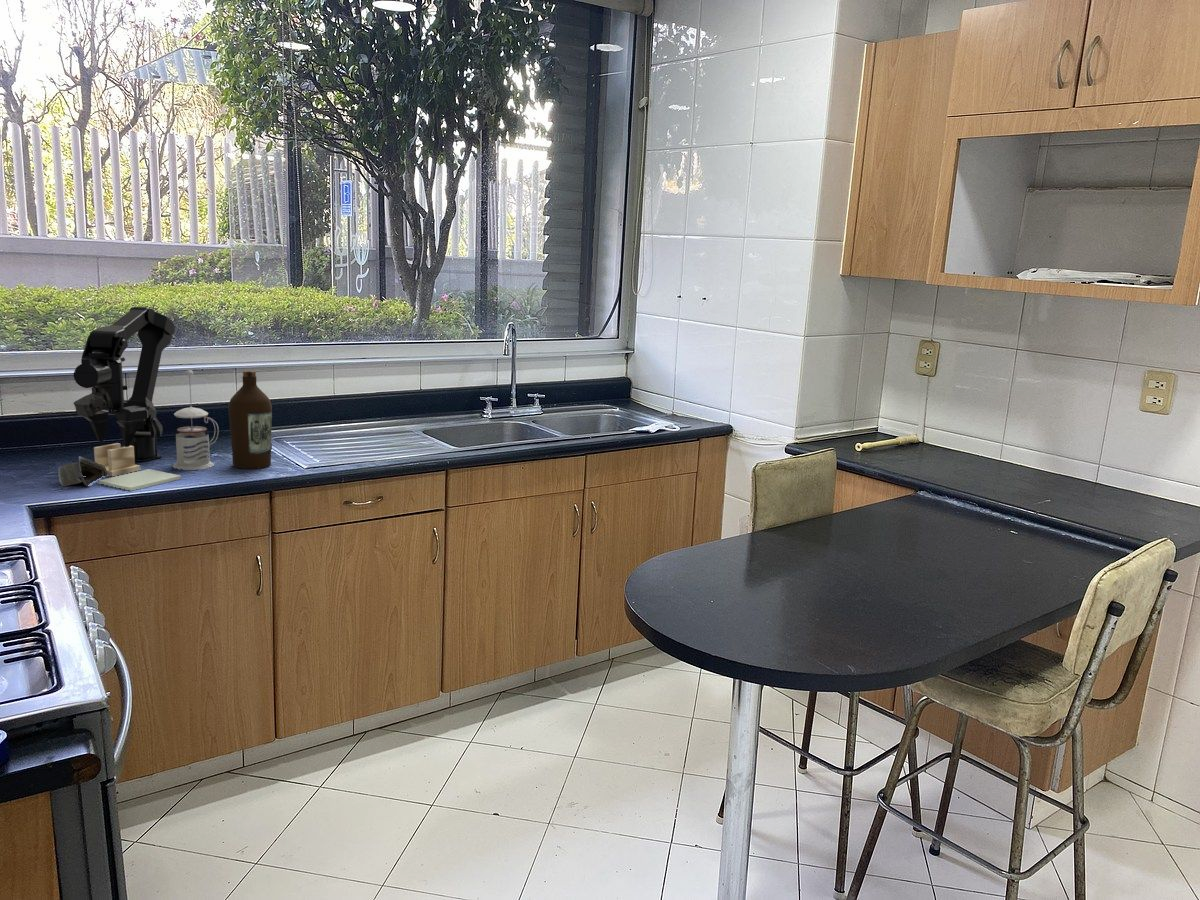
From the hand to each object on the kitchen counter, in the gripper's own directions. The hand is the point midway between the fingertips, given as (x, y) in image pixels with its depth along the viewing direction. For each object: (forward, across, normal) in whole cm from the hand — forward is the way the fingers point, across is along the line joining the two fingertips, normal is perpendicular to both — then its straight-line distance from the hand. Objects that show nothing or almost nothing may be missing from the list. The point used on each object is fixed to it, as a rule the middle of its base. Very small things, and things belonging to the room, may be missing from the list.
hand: (113, 444), depth 222 cm
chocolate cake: (+7, +2, -11) cm, 13 cm away
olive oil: (+7, +21, +24) cm, 33 cm away
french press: (+7, +10, +16) cm, 20 cm away
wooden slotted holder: (+7, 0, 0) cm, 7 cm away
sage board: (+7, +13, -3) cm, 15 cm away
